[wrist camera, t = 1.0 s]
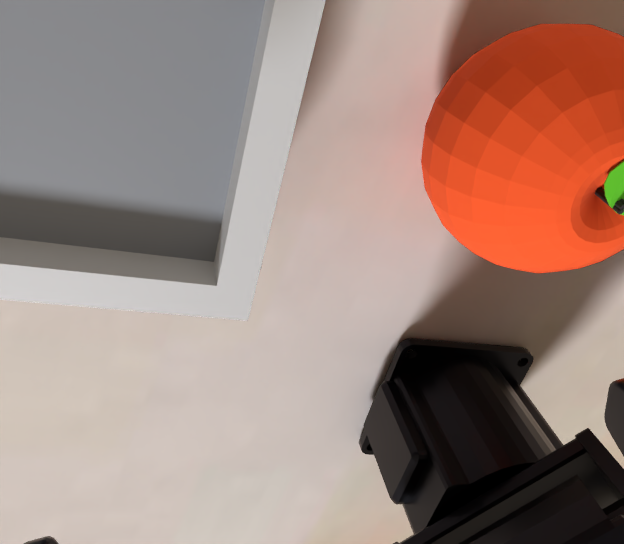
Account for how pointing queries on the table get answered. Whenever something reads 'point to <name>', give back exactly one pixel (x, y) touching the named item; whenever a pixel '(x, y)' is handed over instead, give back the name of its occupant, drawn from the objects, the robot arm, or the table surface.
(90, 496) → the table surface
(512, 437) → the robot arm
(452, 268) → the table surface
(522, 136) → the clementine
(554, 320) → the table surface
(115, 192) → the grey storage bin
